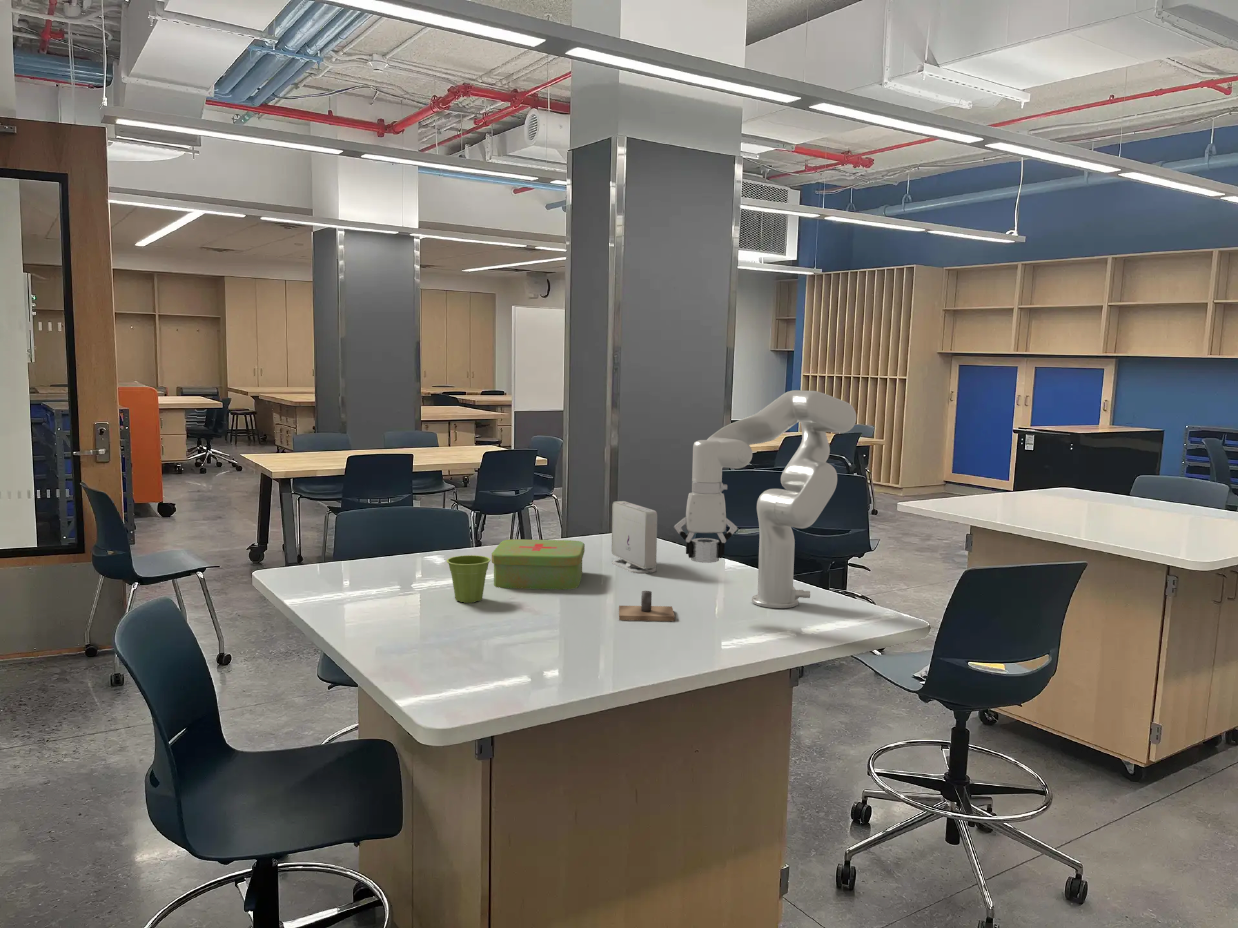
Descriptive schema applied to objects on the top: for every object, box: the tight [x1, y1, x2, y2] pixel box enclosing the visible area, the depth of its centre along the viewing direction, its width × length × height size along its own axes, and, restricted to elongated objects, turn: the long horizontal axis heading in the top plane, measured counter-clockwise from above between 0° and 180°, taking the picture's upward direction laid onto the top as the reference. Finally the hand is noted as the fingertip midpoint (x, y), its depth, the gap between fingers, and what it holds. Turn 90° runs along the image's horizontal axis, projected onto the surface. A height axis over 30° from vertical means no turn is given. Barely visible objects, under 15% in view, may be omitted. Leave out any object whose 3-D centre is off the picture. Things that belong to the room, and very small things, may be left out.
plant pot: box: [446, 554, 492, 604], centre depth 244 cm, size 12×12×11 cm
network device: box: [611, 500, 658, 574], centre depth 291 cm, size 26×9×20 cm, turn 25°
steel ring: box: [690, 537, 720, 564], centre depth 230 cm, size 7×7×5 cm
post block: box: [618, 590, 676, 622], centre depth 232 cm, size 14×10×6 cm
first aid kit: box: [491, 538, 586, 590], centre depth 271 cm, size 26×26×10 cm
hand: (704, 556), depth 230 cm, fingers closed on steel ring, 7 cm apart
